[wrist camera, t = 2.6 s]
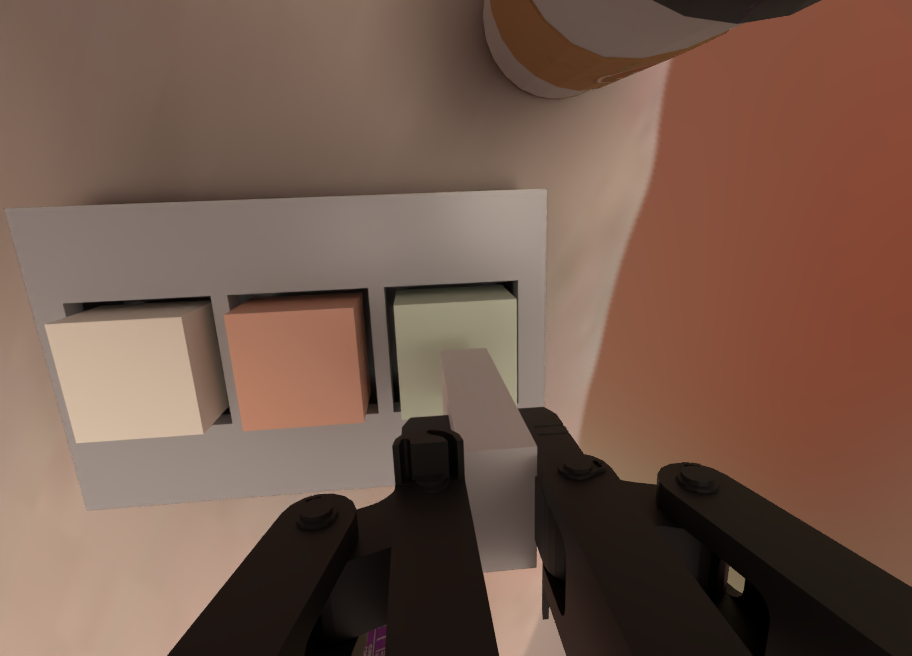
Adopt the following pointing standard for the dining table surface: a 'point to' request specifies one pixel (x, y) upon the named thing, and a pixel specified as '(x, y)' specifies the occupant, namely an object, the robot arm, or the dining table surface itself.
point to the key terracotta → (299, 360)
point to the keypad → (271, 275)
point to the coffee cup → (607, 36)
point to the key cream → (140, 370)
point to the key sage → (450, 339)
